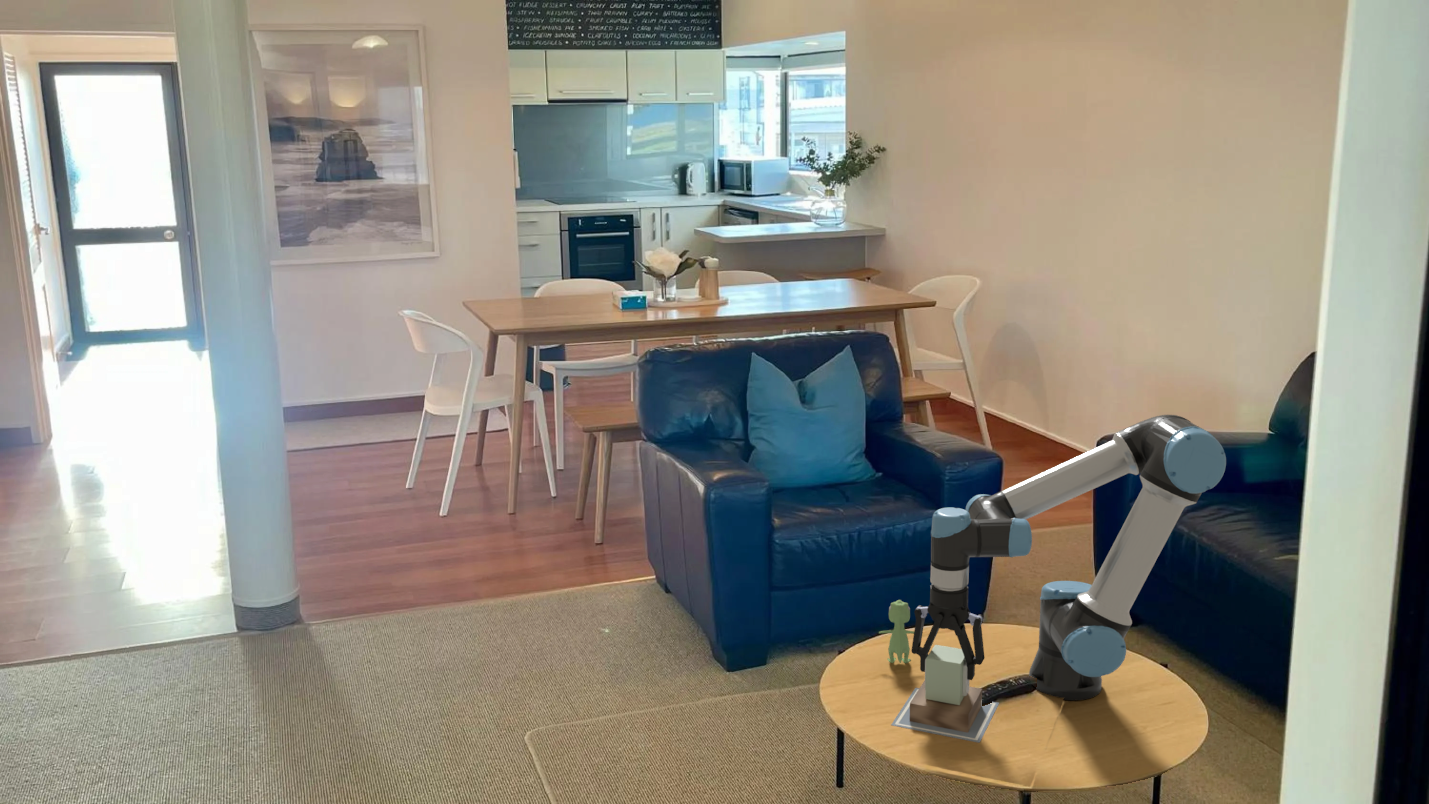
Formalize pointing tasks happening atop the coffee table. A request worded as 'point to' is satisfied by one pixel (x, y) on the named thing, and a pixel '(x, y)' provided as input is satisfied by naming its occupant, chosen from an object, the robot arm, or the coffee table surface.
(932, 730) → the grey square plate
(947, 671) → the sage block
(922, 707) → the foundation block
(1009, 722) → the coffee table surface
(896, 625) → the toy
